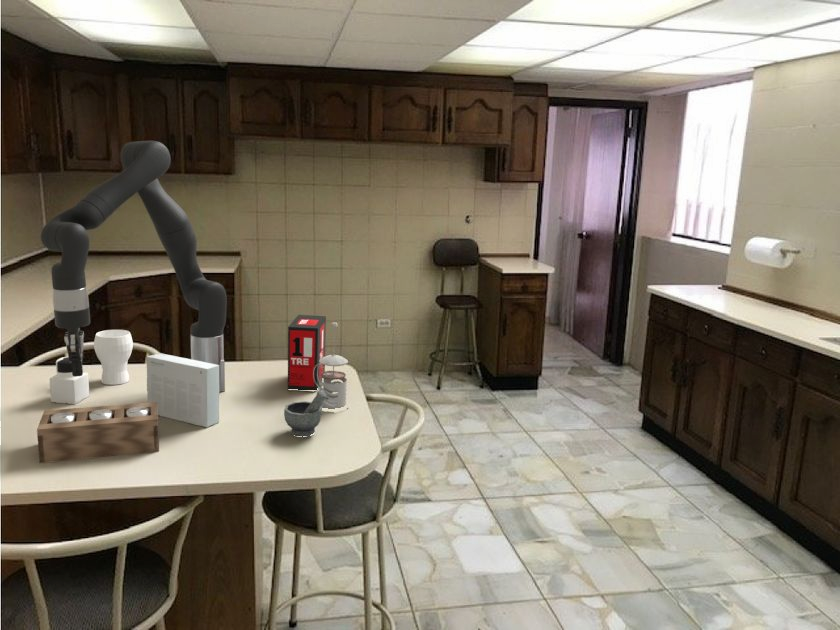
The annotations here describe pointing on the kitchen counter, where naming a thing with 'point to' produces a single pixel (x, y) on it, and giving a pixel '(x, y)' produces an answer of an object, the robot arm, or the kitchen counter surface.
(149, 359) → the skincare box
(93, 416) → the spice jar
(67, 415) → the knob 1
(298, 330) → the cleaning product box
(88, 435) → the wooden spice jar rack
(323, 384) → the french press
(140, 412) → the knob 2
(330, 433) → the kitchen counter surface
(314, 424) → the mortar and pestle
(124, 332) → the cup
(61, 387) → the medicine bottle
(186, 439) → the kitchen counter surface
